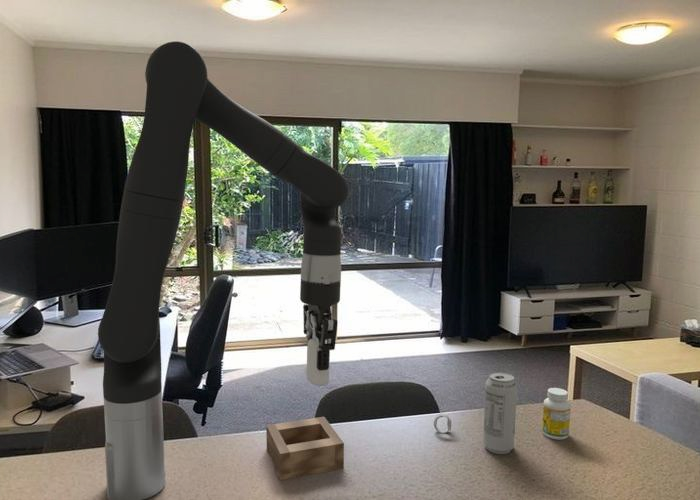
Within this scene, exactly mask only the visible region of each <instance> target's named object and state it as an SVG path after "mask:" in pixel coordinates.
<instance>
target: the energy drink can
mask: <svg viewBox="0 0 700 500" xmlns="http://www.w3.org/2000/svg"><path fill="white" fill-rule="evenodd" d="M484 391H485V392H484V409H483V410H484V412H483V413H484V414H483V417H484V418H483V437H482V438H483V439H482V443H483V445H484V446H485V448H486V450H487V451H488V452H490V453H493V454H498V455H507V454H509V453H510V452H511V451H512V449H514V448H515V435H516V434H515V433H516V432H515V431H516V415H517V413H516V412H517V396H518V394H517V393H518V385H517V383H516V381H515V377H514V375H512V374H510V373H507V372H500V371H499V372H495V371H494V372H492V373H489V375H488V378H487V379H486V381H485V389H484Z"/></svg>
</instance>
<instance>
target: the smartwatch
mask: <svg viewBox="0 0 700 500" xmlns="http://www.w3.org/2000/svg"><path fill="white" fill-rule="evenodd" d="M443 417H444V418H447V425H446V428H445V429H439V428H438V426H437V423H438V420H439V419H440V418H443ZM433 427H434V429H435V430H436V431H437V432H438V433H440V434H446V433H448V432H449V431H451V430H452V418H451V417H450V416H449V415H448V414H447V413H438V414H437V415H435V417H434V420H433Z"/></svg>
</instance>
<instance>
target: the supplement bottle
mask: <svg viewBox="0 0 700 500" xmlns="http://www.w3.org/2000/svg"><path fill="white" fill-rule="evenodd" d="M546 395H547V397H546V398H545V399H544V400H543V408H542V423H541V424H542V425H541V432H542V434H543V435H544V436H545V437H547V438H549V439H553V440H557V441H559V440H560V441H561V440H562V441H563V440H566V439H567V438H569V435H570V421H571V420H570V419H571V406H572V405H571V404H570V401H568V398H569V391H567V390H565V389H563V388H559V387H549V388H548V389H547V394H546Z"/></svg>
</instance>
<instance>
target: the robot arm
mask: <svg viewBox="0 0 700 500" xmlns="http://www.w3.org/2000/svg"><path fill="white" fill-rule="evenodd" d="M206 65H207V64H206V61H205V60H204V59H203V57H202V55H201V54H200V52H199V51H198V50H197V49H196V48H195V47H193V46H192V45H191V44H188V43H187V42H184V41H176V40H175V41H170V42H169V41H168V42H166V43H163V44H161V45H160V46H158V47H157V48H155V49H154V51H153V52H152V53H150V56H149V58H148V59H147V63H146V66H145V72H144V76H145V82H146V96H145V108H144V115H143V123H142V128H141V132H140V134H139V138H138V141H137V144H136V147H135V150H134V152H133V156H132V158H131V162H130V165H129V169H128V173H127V175H126V179H125V183H124V188H123V195H122V199H121V205H120V210H119V211H120V212H119V217H118V218H119V219H118V226H117V236H116V247H115V248H116V250H115V266H114V273H113V277H112V278H113V280H112V284H111V288H110V292H109V294H108V297H107V301H106V305H105V308H104V311H103V313H102V317H101V319H100V322H99V325H98V329H97V337H98V338H97V339H98V342H99V345H100V347H101V349H102V350H103V376H102V394H103V395H102V396H103V410H104V427H105V432H104V433H105V444H104V454H105V473H106V474H105V475H106V476H105V478H106V493H107V494H106V495H107V500H147V499H149V498H151V497H153V496H155V495H157V494H158V493H160V492H161V491H162V490H163V489H164V487H165V486H166V465H165V442H164V441H165V439H164V418H163V417H164V416H163V413H164V412H163V395H162V394H163V392H162V389H163V388H162V386H163V385H162V351H161V350H162V348H161V347H162V345H161V323H160V322H161V321H160V316H159V315H160V314H159V313H160V303H161V302H160V301H161V291H162V286H163V279H164V276H165V272H166V269H167V266H168V263H169V260H170V258H171V254H172V251H173V247H174V245H175V241H176V237H177V233H178V229H179V225H180V222H181V215H182V210H183V205H184V201H185V200H184V199H185V193H186V186H187V177H188V170H189V169H188V168H189V160H190V159H189V158H190V145H191V139H192V133H193V129H194V125H195V121H196V120H197V122H200V123H201V124H203V125H205V126H207V128H209V129H211V130H213V132H216V133H217V134H218V135H220V136H221V137H223V138H224V139H225V140H227V141H228V142H229V143H230V144H231V145H233V146H234V147H235V148H237V149H238V150H239V151H240V152H242V153H243V154H244V155H246V156H247V157H248V158H250V160H252V161H253V162H254V163H256V164H258V165H259V166H260V167H261V168H263V169H264V170H265V171H266V172H269V174H271V175H272V176H274V177H275V178H277V179H278V180H280V181H282V182H284V183H287V184H290V185H291V186H293V187H294V188H296V189H297V190H299V192H300V194H299V195H300V198H299V199H300V207H301V217H302V222H303V223H302V224H303V241H302V242H303V244H302V245H303V247H302V257H301V265H300V289H299V290H300V291H299V298H300V299H299V300H300V302H301V303H302V304H303V306H302V308H303V310H302V311H303V334H304V335H305V338H306V339H305V340H307V342H306V343H307V344H306V345H307V346H308V341H309V340H310V339H312V338H313V336H314V338H315V339H316V341H317V369H318V370H327V369H328V368H329V369H330V362H329V351H335V349H336V342H337V341H336V340H337V330H338V319H335V318H334V319H333V317H334V316H333V313H332V308H331V307H332V306H333V305H337V304H339V303H340V300H341V284H342V283H341V282H342V261H341V260H342V259H341V249H342V229H341V226H340V225H339V224H338V222H337V220H336V209H337V208H339V207H341V206H342V205H344V204H345V202H346V201H347V199H348V196H349V186H348V182H347V181H346V178H345V177H344V176H343V175H342V173H340V172H339V171H338V170H336V168H334V167H332V166H330V165H329V164H328V163H326V162H324V161H323V160H321V159H320V158H318V157H316V156H314V155H313V154H311V153H309V152H308V151H306V150H305V149H304V148H302V146H300V145H299V144H298V143H296V141H294V140H293V139H292V138H290V137H289V136H288V135H287V134H286V133H284V132H283V131H282V130H280V129H279V128H278V127H276V126H274V125H273V124H271V123H270V122H268V121H267V120H265V119H264V118H262V117H260V116H258V115H257V114H255V113H254V112H251V111H250V110H248V109H246V108H245V107H243V106H241V105H240V104H239V103H237V102H235V101H234V99H232V98H230V97H229V96H228V95H226V94H225V93H224V92H223V91H222V90H220V89H219V88H218V86H216V85H215V84H214V83H213V82H212V81H211V80H210V79H209V78H208V68H207V66H206ZM318 332H322V333H318ZM325 340H326V341H327V344H325ZM307 346H306V347H307Z"/></svg>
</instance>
